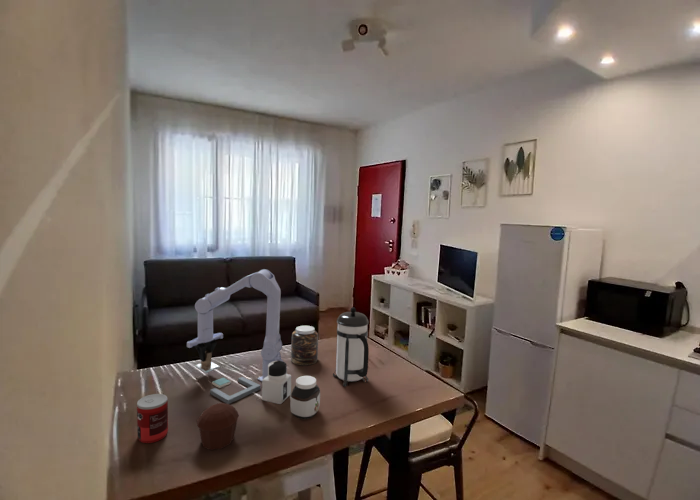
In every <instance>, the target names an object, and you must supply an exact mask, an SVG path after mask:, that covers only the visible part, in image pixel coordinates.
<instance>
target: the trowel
mask: <svg viewBox="0 0 700 500" xmlns="http://www.w3.org/2000/svg"><path fill="white" fill-rule="evenodd" d="M212 355H213V352H210V351H208V350H206V351H205V361H204V362H203V361H201V360H200V363H198V364H195V367H196V369H199V370H200V371H202V372H203V373H205V374H206V373H210V372H212V371H215V370H217V369H219V368H220V365H218V364H216V363H215V362H213V361H212Z"/></svg>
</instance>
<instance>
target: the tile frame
mask: <svg viewBox="0 0 700 500" xmlns="http://www.w3.org/2000/svg"><path fill="white" fill-rule="evenodd" d="M237 382H238V383H239V384H241V385H243V386H246V387H247V388H244V389H242V390H240V391H238V392H235V393H233V394H231V395H229V394H228V393H225V392H224V391H222V390H220V389H219V388H217V387H214V388H211V389H209V394H210V395H211V396H213V397H215V398H217V399H218V400H220V401H222V403H226V404H230V405H231V404H233V403H234V402H236V401H239V400H241V399H243V398H245V397H247V396H249V395H251V394H253V393H255V392H258V391H260V390H261V388H262V384H259V383H256V382H254V381H252V380H251V379H248V378H246V377H244V376H240V377H238V378H237Z"/></svg>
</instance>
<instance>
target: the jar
mask: <svg viewBox="0 0 700 500" xmlns="http://www.w3.org/2000/svg"><path fill="white" fill-rule="evenodd" d="M290 345H291V352H290V354H291V355H290V358H291V359H290V361H291V362H292V363H293V364H294V365H298V366H310V365H311V366H312V365H314V364H317V362H318V359H319V357H318V355H319V354H318V353H319V334H318V332H317V331H316V330H315V327H314V326H312V325H311V326H310V325H300V326H296V328H295V330H294V331H293V332H292V333H291V344H290Z"/></svg>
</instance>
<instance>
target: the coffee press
mask: <svg viewBox="0 0 700 500" xmlns="http://www.w3.org/2000/svg"><path fill="white" fill-rule="evenodd" d="M336 323H337V328H336V356H335V359H336V360H335V371H334V372H333V373H332V376H333V377H334V378H335V377H337V378H338V379H340V380H342V381H343V383H342V386H343V387H346V388H347V387H348V383H349V382H357V381H360V380H362V381H363V383H365V380H366V381H367V382H369V377H368V376H367V375H368V372H369V371H368V370H369V354H370V353H369V341H368V333H369V332H368V331H369V330H368V329H369V328H368V325H369V319H368V317H367V316H366V315H365V314H364V313H362V312H359V311H357V309H356V308H355V307H354V306H353V307H351V308H350V311H346V312H342V313H341V314H339V316H338V317H337V318H336ZM364 377H365V378H364Z"/></svg>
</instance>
